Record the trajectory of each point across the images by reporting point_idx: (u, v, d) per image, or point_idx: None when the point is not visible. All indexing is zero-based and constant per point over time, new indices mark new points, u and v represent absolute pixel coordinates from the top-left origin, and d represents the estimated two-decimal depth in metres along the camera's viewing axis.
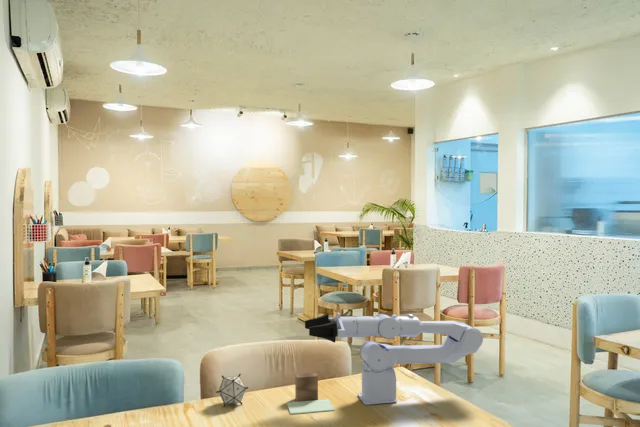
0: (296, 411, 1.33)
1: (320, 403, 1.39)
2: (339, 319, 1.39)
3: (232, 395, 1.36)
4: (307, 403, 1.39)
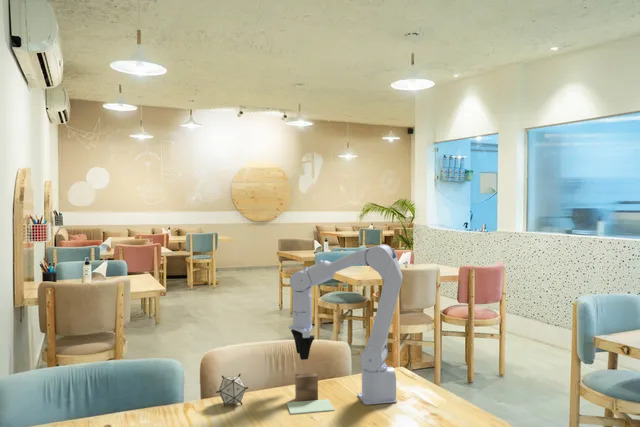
0: (296, 411, 1.33)
1: (320, 403, 1.39)
2: (294, 328, 1.47)
3: (232, 395, 1.36)
4: (307, 403, 1.39)
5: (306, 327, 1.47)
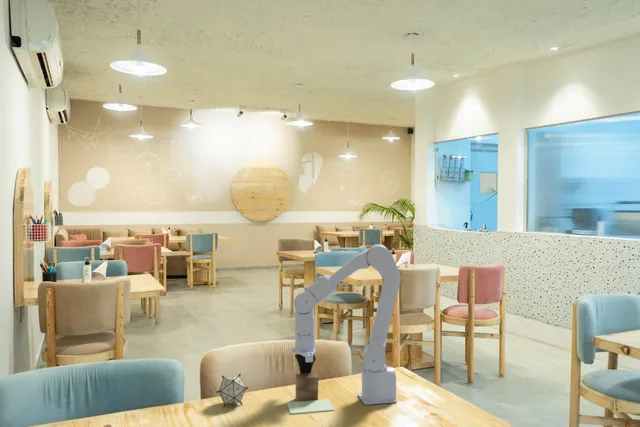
0: (296, 411, 1.33)
1: (320, 403, 1.39)
2: (297, 351, 1.43)
3: (232, 395, 1.36)
4: (307, 403, 1.39)
5: (309, 350, 1.42)
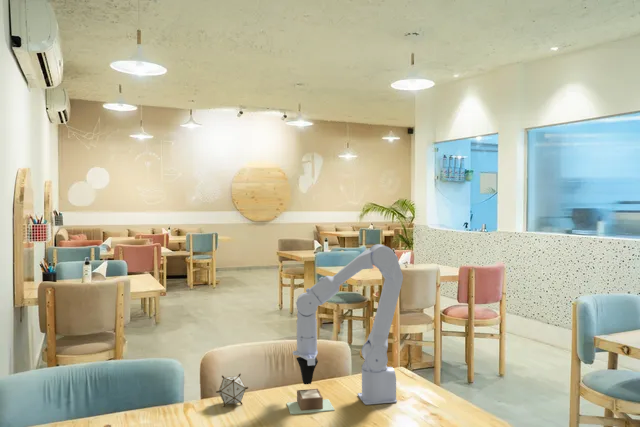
0: (296, 411, 1.33)
1: None
2: (298, 354, 1.40)
3: (232, 396, 1.36)
4: None
5: (311, 353, 1.39)
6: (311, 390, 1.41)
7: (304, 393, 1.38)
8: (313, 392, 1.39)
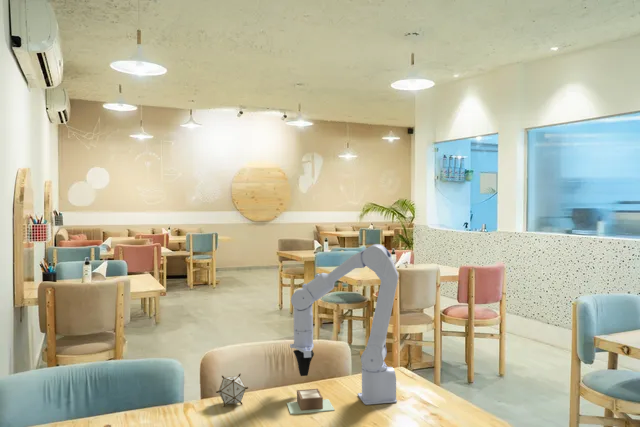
0: (296, 411, 1.33)
1: None
2: (295, 347, 1.45)
3: (232, 395, 1.36)
4: None
5: (307, 346, 1.45)
6: (311, 390, 1.41)
7: (304, 393, 1.38)
8: (313, 392, 1.39)
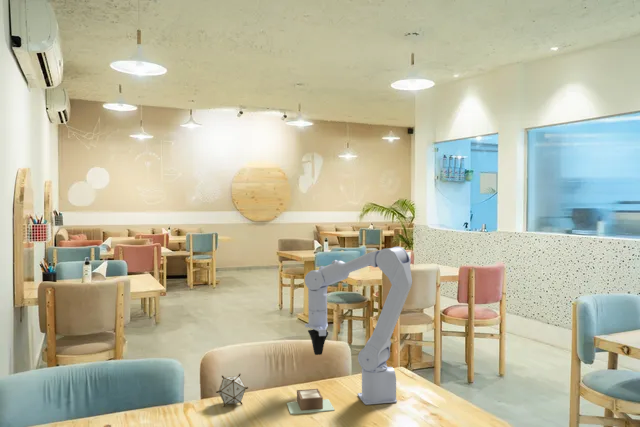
0: (296, 411, 1.33)
1: None
2: (310, 327, 1.49)
3: (232, 396, 1.36)
4: None
5: (322, 325, 1.49)
6: (311, 390, 1.41)
7: (304, 393, 1.38)
8: (313, 392, 1.39)
